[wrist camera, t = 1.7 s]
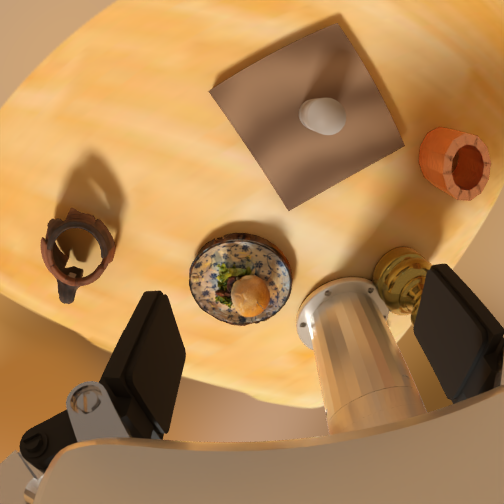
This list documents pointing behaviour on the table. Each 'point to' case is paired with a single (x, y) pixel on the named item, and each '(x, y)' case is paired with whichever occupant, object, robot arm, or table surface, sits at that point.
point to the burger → (240, 279)
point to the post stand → (309, 115)
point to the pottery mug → (57, 260)
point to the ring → (467, 170)
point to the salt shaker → (401, 280)
